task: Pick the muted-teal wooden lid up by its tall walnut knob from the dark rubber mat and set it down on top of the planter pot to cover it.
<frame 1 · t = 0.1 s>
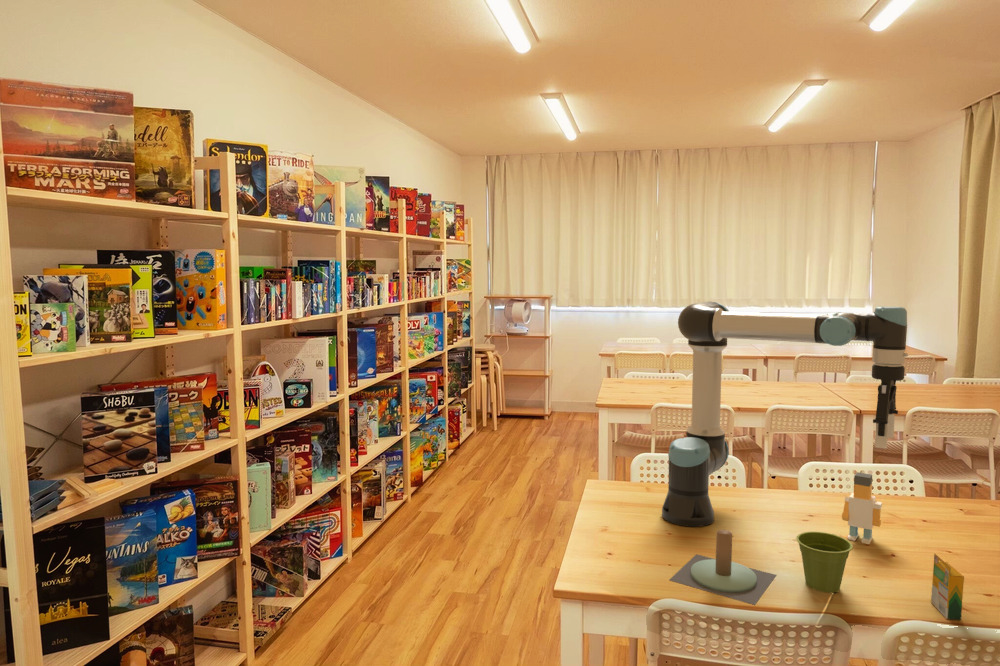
hand: (884, 442, 178), 28 cm above the table, tool pointing down, fingers open, 13 cm apart
mat: (723, 579, 159), on the table
character figure: (858, 539, 183), on the table
plant pot: (822, 588, 155), on the table
lid: (723, 577, 159), point 1 cm above the table, touching mat
crayon box: (945, 612, 144), on the table
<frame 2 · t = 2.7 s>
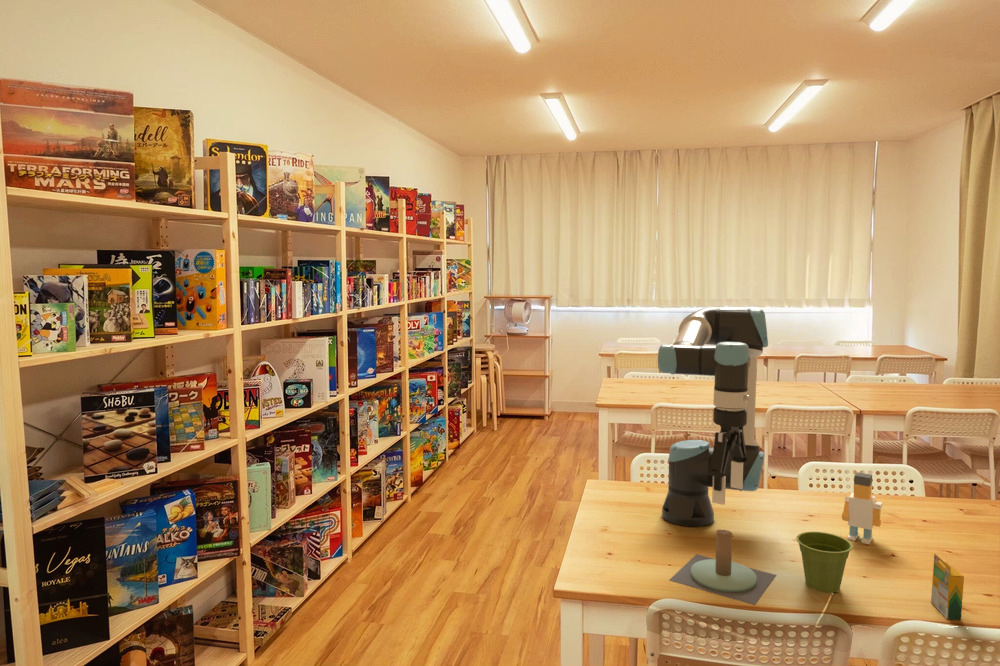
hand: (727, 495, 157), 21 cm above the table, tool pointing down, fingers open, 13 cm apart
nothing on the table moved.
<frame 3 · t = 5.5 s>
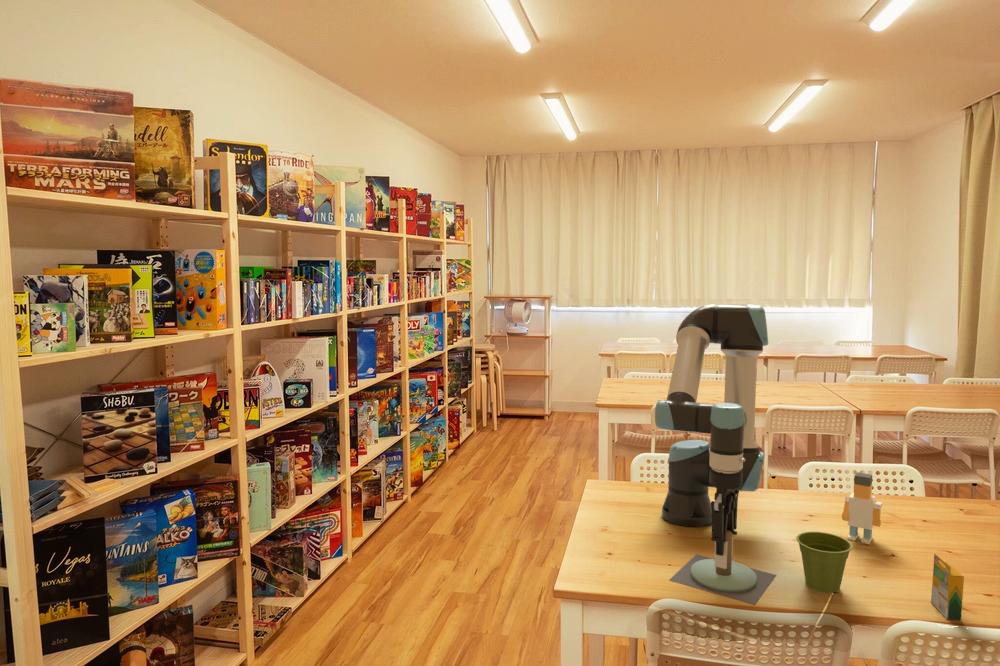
hand: (723, 563, 159), 4 cm above the table, tool pointing down, fingers closed on lid, 3 cm apart
lid: (723, 577, 159), point 1 cm above the table, touching gripper
everything else where it was.
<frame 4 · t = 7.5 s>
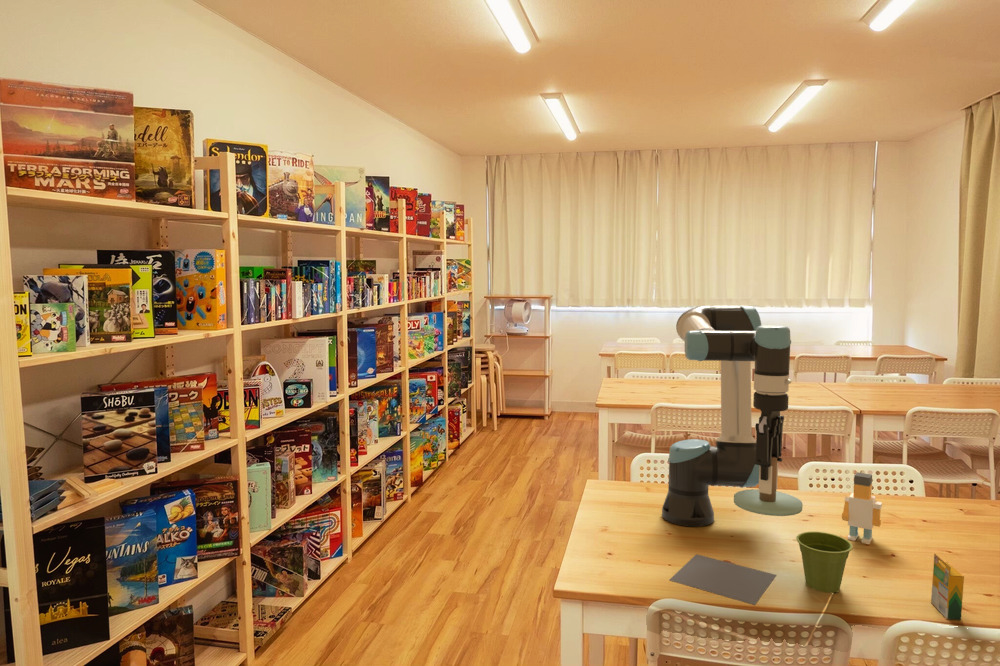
hand: (768, 490, 155), 23 cm above the table, tool pointing down, fingers closed on lid, 3 cm apart
lid: (767, 504, 155), point 19 cm above the table, touching gripper
everything else where it was.
when the fingers open (16 cm above the table, at t = 9.9 s): lid drops 1 cm, resting on plant pot.
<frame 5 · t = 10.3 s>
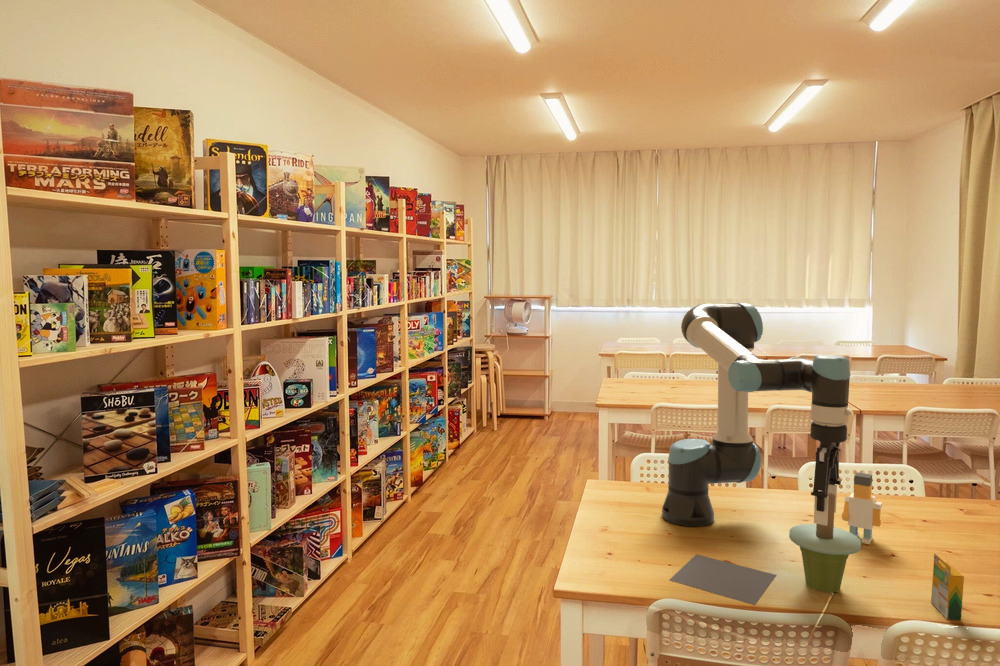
hand: (825, 517, 154), 17 cm above the table, tool pointing down, fingers open, 9 cm apart
plant pot: (822, 588, 155), on the table, touching lid
lid: (824, 541, 154), point 11 cm above the table, touching plant pot
everything else where it was.
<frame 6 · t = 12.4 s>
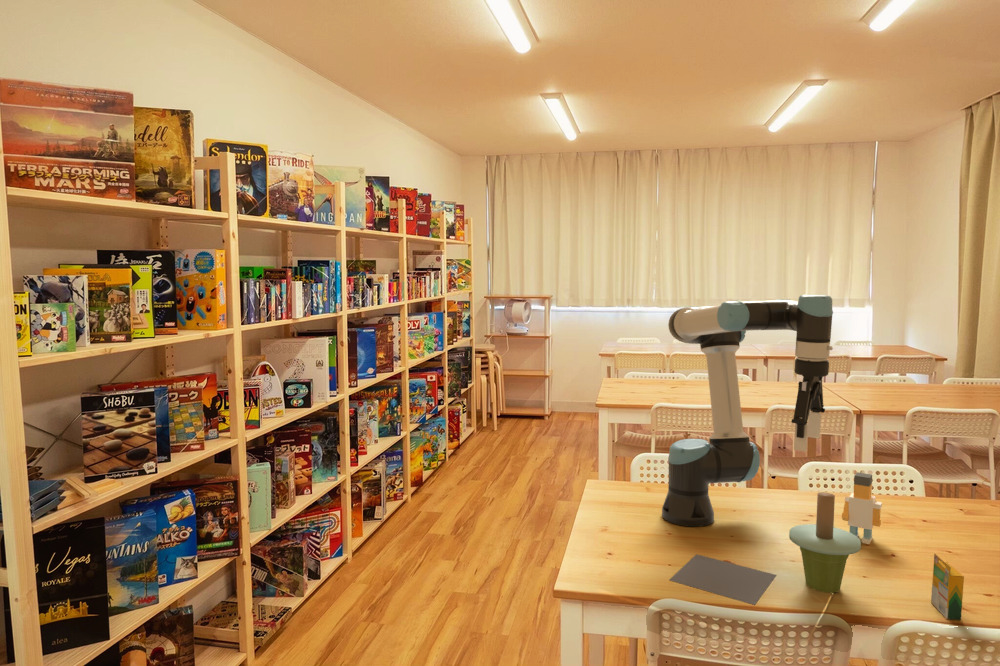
hand: (807, 443, 162), 32 cm above the table, tool pointing down, fingers open, 13 cm apart
nothing on the table moved.
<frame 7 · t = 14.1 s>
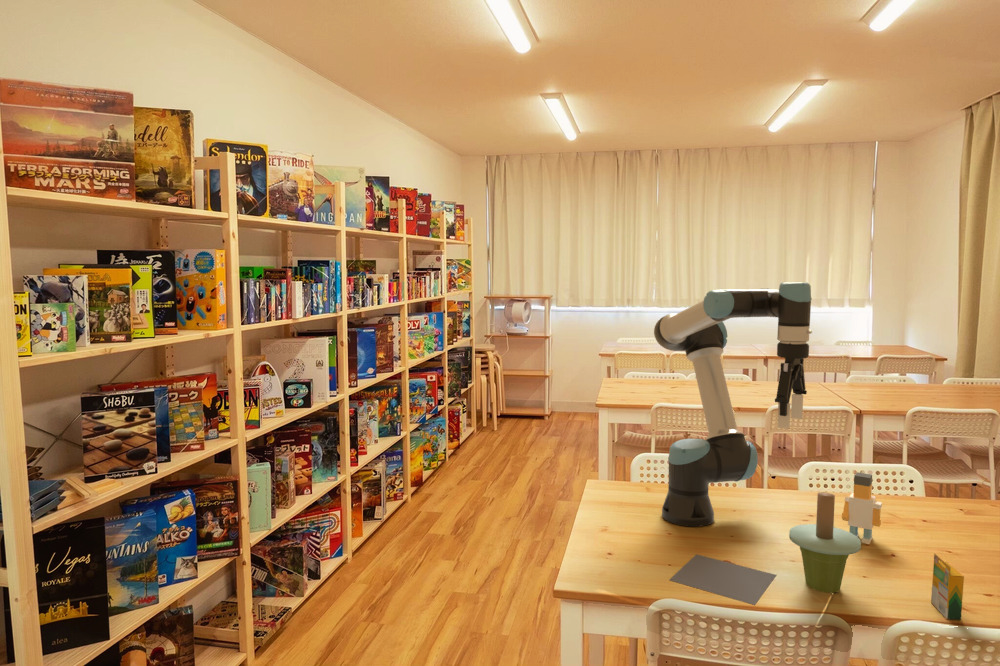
hand: (790, 423, 172), 35 cm above the table, tool pointing down, fingers open, 13 cm apart
nothing on the table moved.
at the end: lid inside the target area on the plant pot (0.0 cm from its centre), point 11.4 cm above the plant pot's base; lid tilted 0°; the gripper is holding nothing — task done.
